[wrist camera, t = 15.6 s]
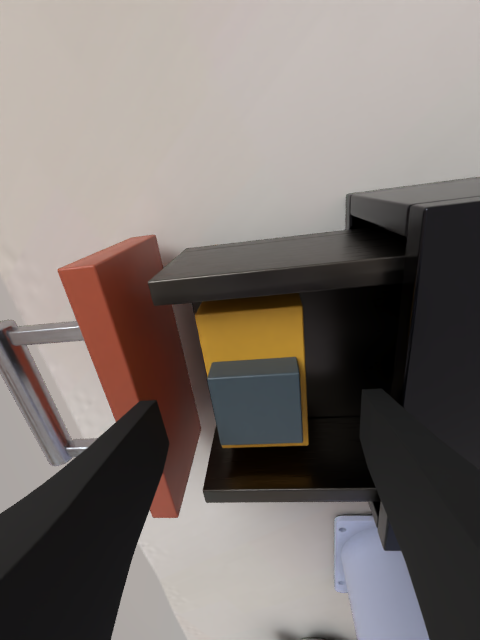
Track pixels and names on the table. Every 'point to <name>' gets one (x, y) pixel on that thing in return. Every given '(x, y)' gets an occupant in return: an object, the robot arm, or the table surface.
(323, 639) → the robot toy
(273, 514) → the table surface
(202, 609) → the table surface
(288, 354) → the yellow and grey block
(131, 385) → the cabinet drawer
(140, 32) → the table surface
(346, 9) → the table surface
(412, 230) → the drawer cabinet
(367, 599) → the robot arm
